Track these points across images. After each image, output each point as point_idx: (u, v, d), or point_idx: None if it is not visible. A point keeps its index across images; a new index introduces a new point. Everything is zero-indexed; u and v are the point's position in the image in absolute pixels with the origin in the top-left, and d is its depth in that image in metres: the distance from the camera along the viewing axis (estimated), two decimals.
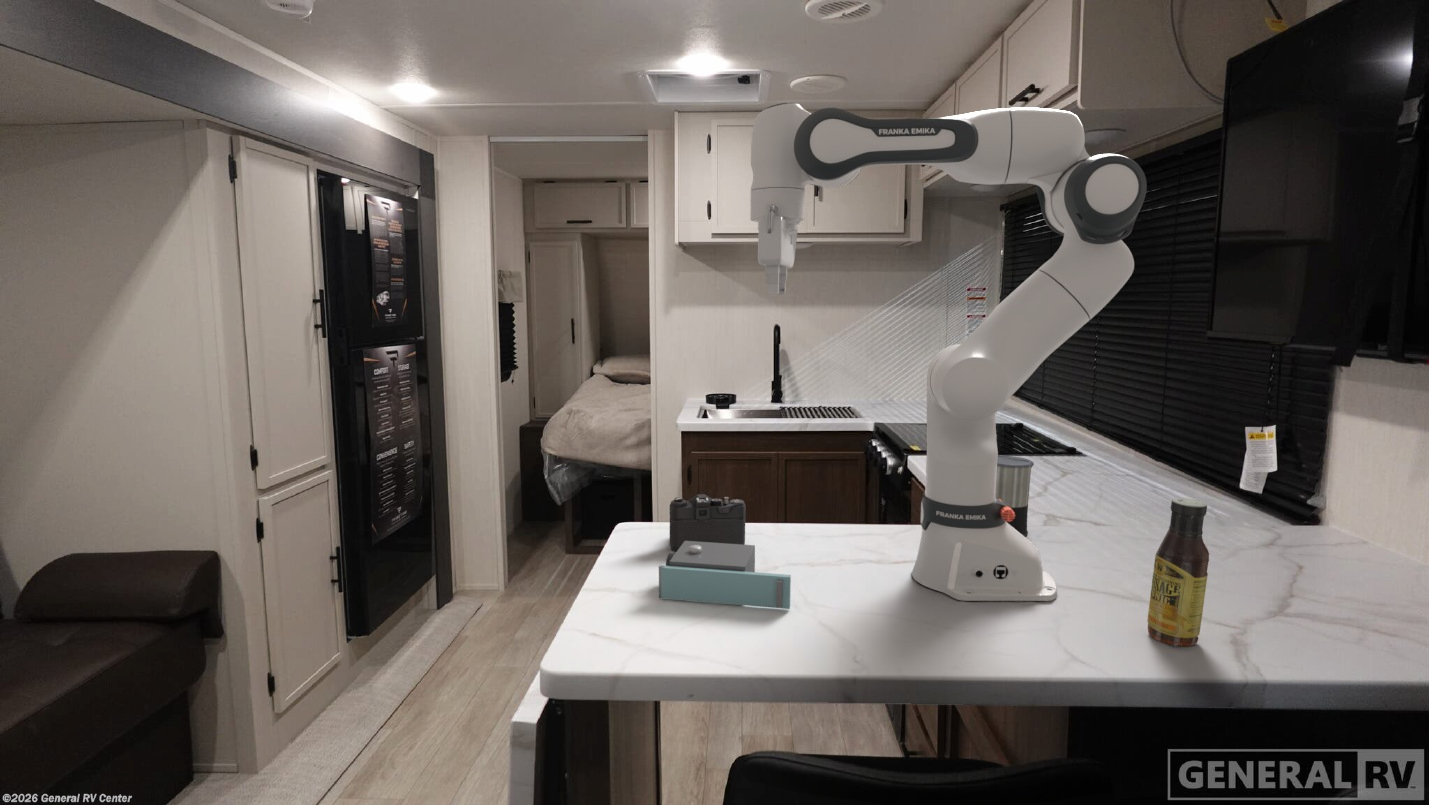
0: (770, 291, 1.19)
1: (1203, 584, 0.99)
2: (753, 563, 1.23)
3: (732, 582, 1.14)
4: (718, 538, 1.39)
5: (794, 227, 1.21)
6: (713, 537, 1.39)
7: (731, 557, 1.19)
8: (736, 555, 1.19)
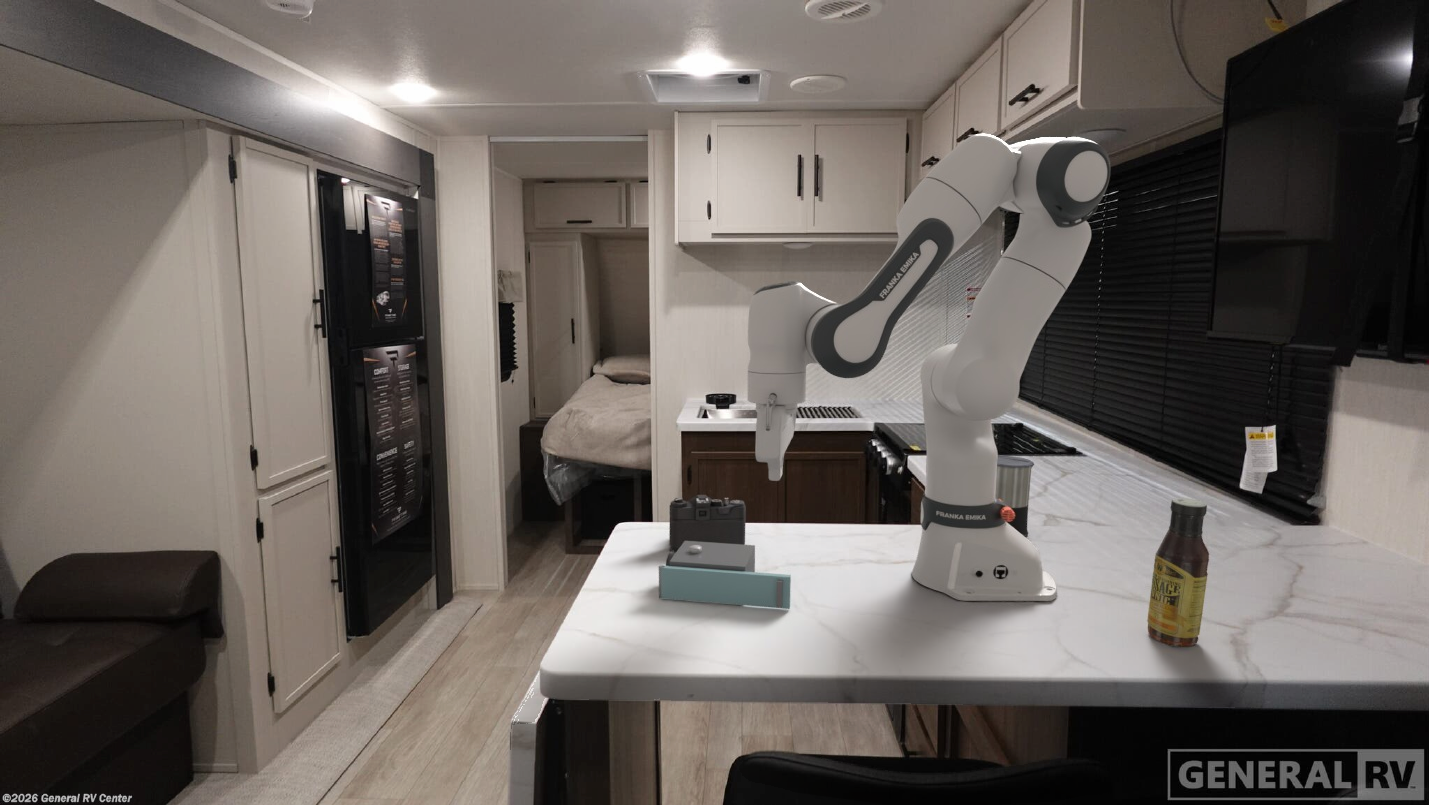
0: (772, 477, 1.14)
1: (1203, 584, 0.99)
2: (753, 563, 1.23)
3: (732, 582, 1.14)
4: (718, 539, 1.38)
5: (794, 411, 1.12)
6: (713, 538, 1.38)
7: (731, 557, 1.19)
8: (736, 555, 1.19)
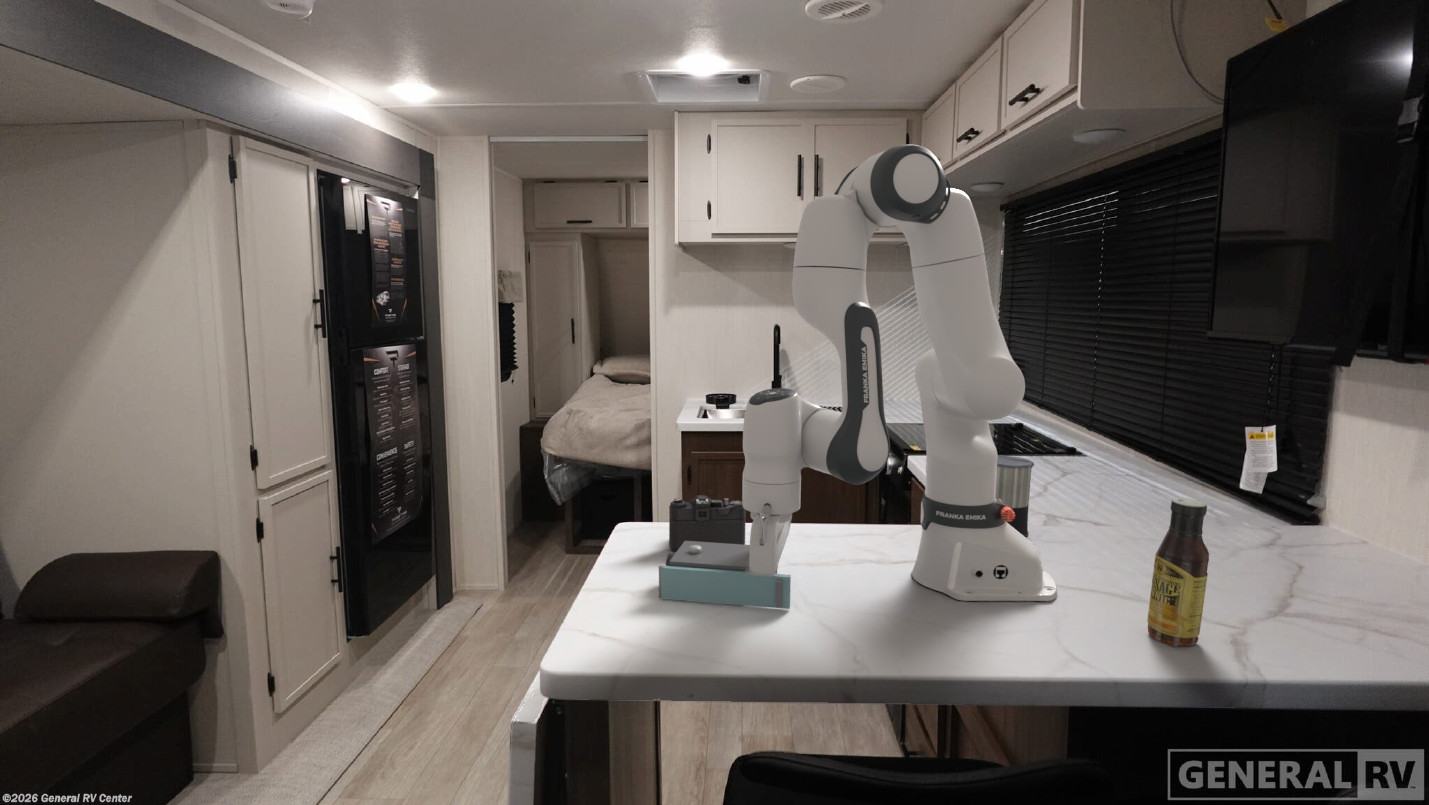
0: None
1: (1203, 584, 0.99)
2: None
3: (732, 582, 1.14)
4: (718, 540, 1.38)
5: (789, 518, 1.12)
6: (713, 539, 1.38)
7: (731, 557, 1.19)
8: (736, 555, 1.19)
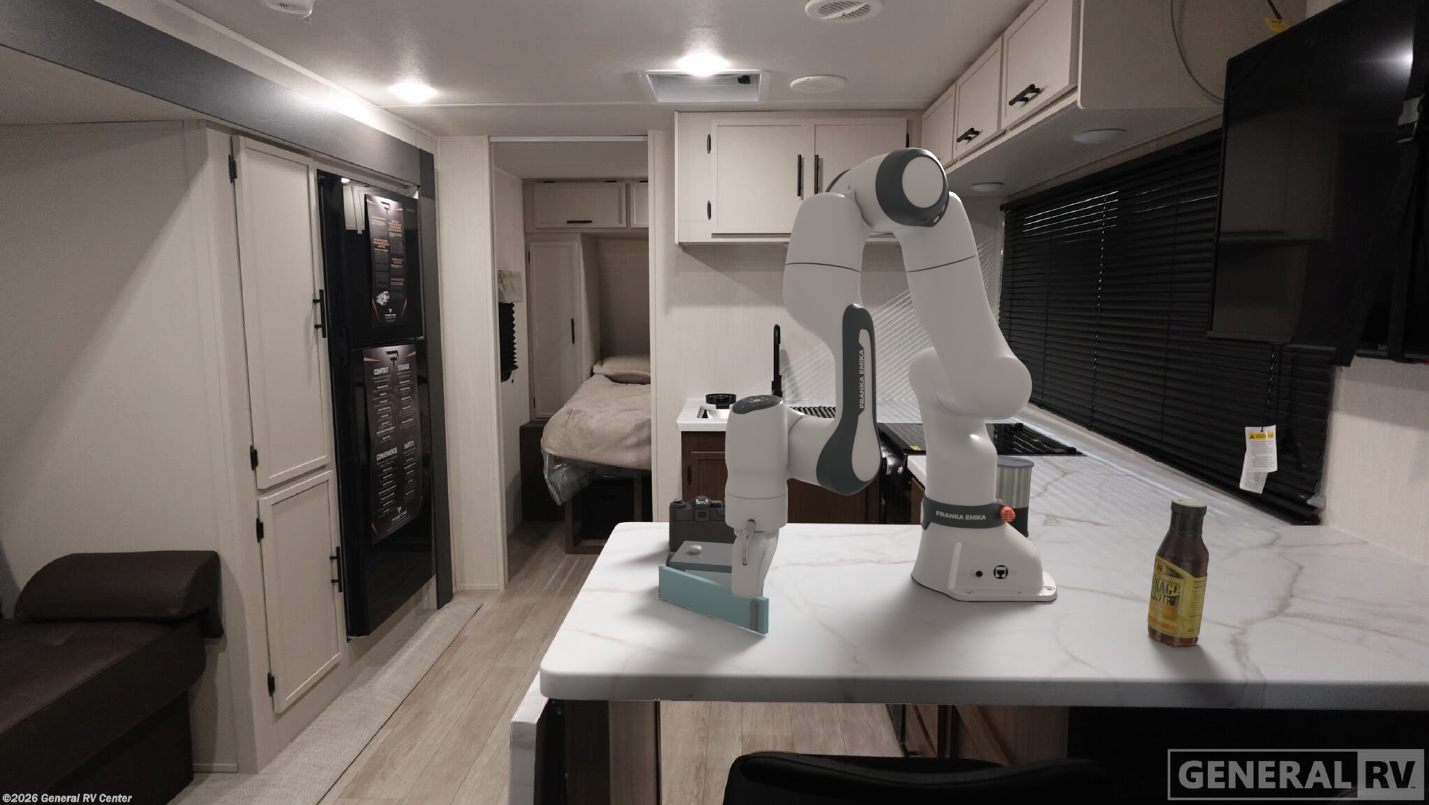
0: None
1: (1203, 584, 0.99)
2: None
3: (715, 595, 1.09)
4: (718, 540, 1.38)
5: (775, 534, 1.05)
6: (712, 539, 1.38)
7: (731, 557, 1.19)
8: None
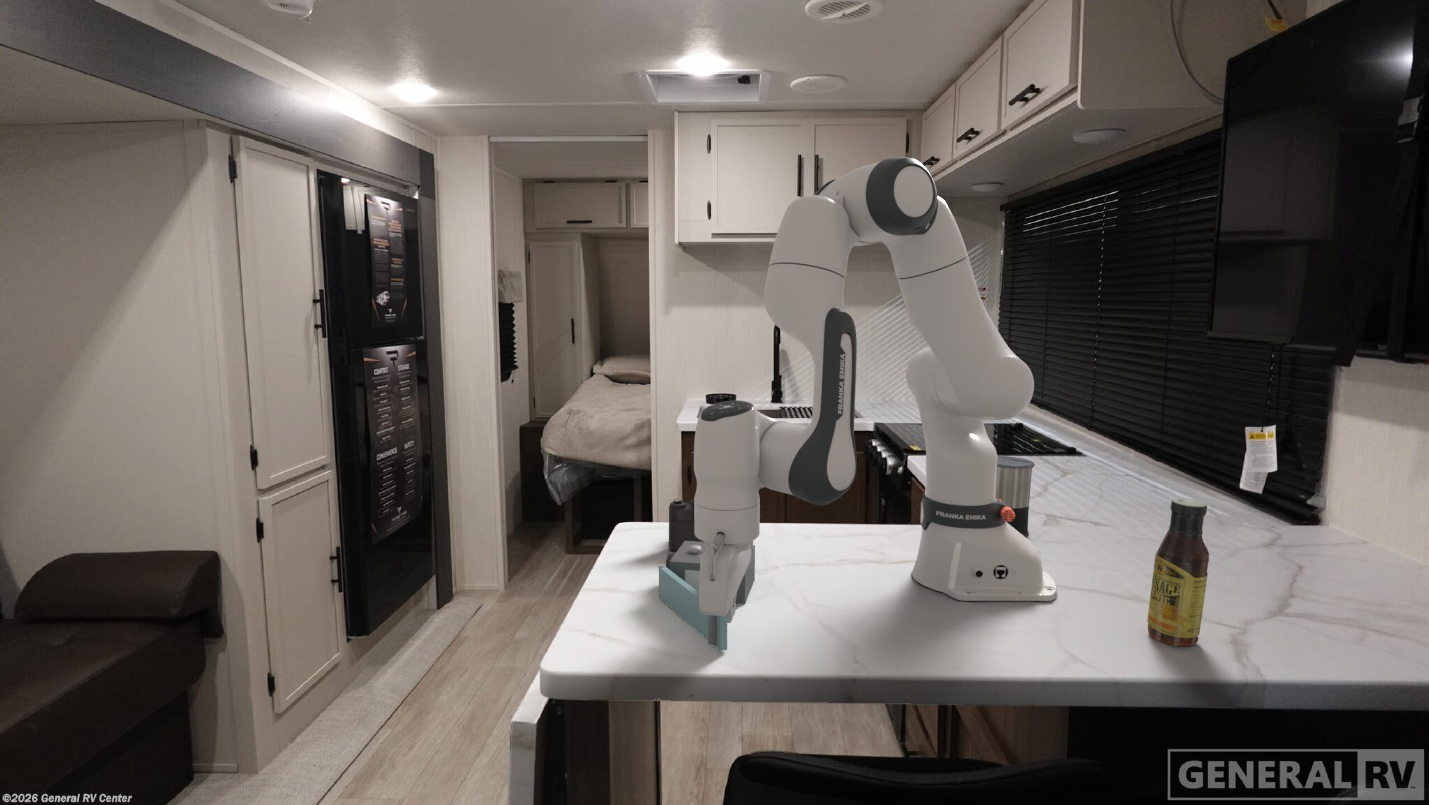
0: None
1: (1203, 584, 0.99)
2: (753, 563, 1.23)
3: (691, 602, 1.06)
4: None
5: (747, 547, 1.00)
6: None
7: None
8: None
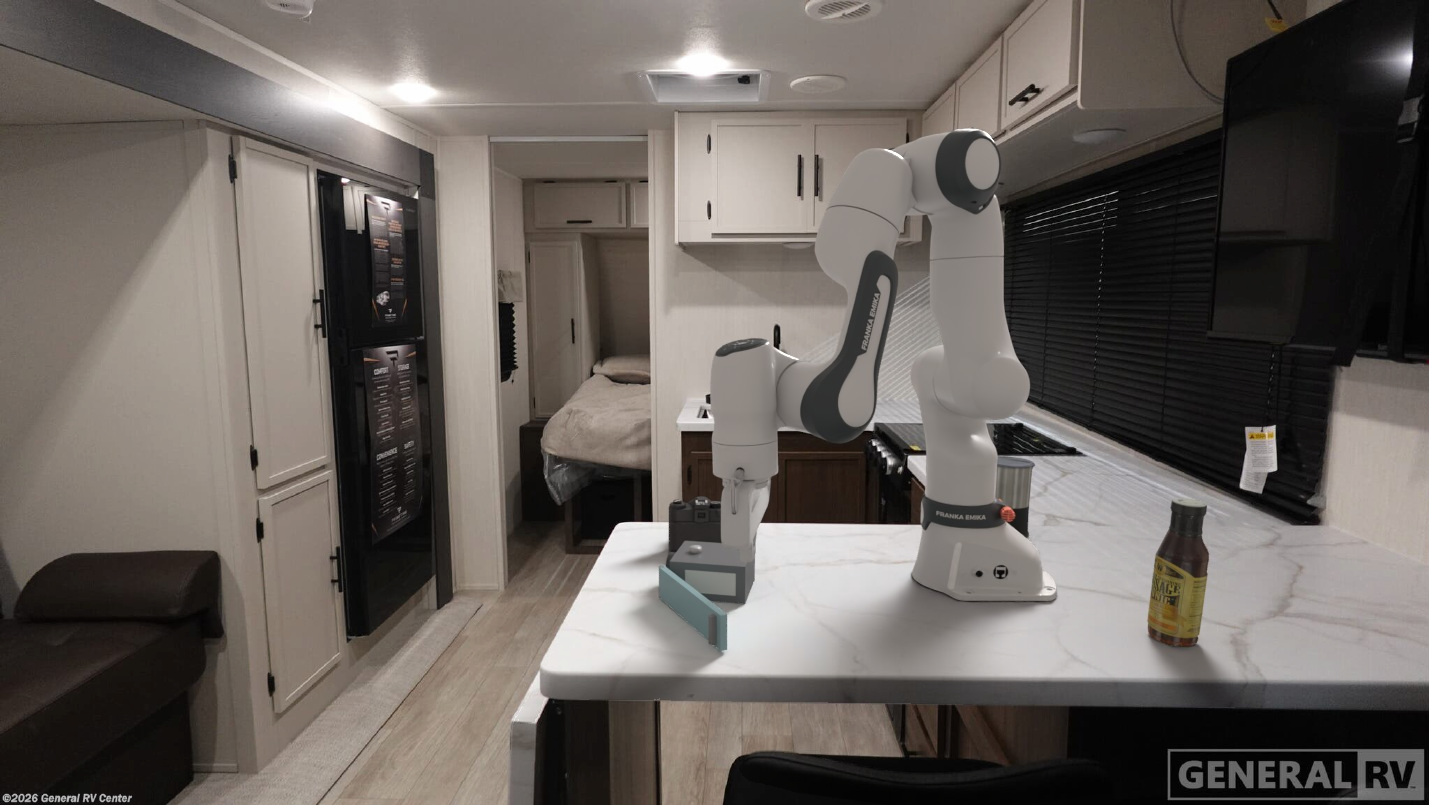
0: (743, 558, 1.01)
1: (1203, 584, 0.99)
2: (753, 563, 1.23)
3: (691, 602, 1.06)
4: (717, 541, 1.37)
5: (766, 484, 0.99)
6: (712, 540, 1.37)
7: (731, 557, 1.19)
8: (736, 555, 1.19)
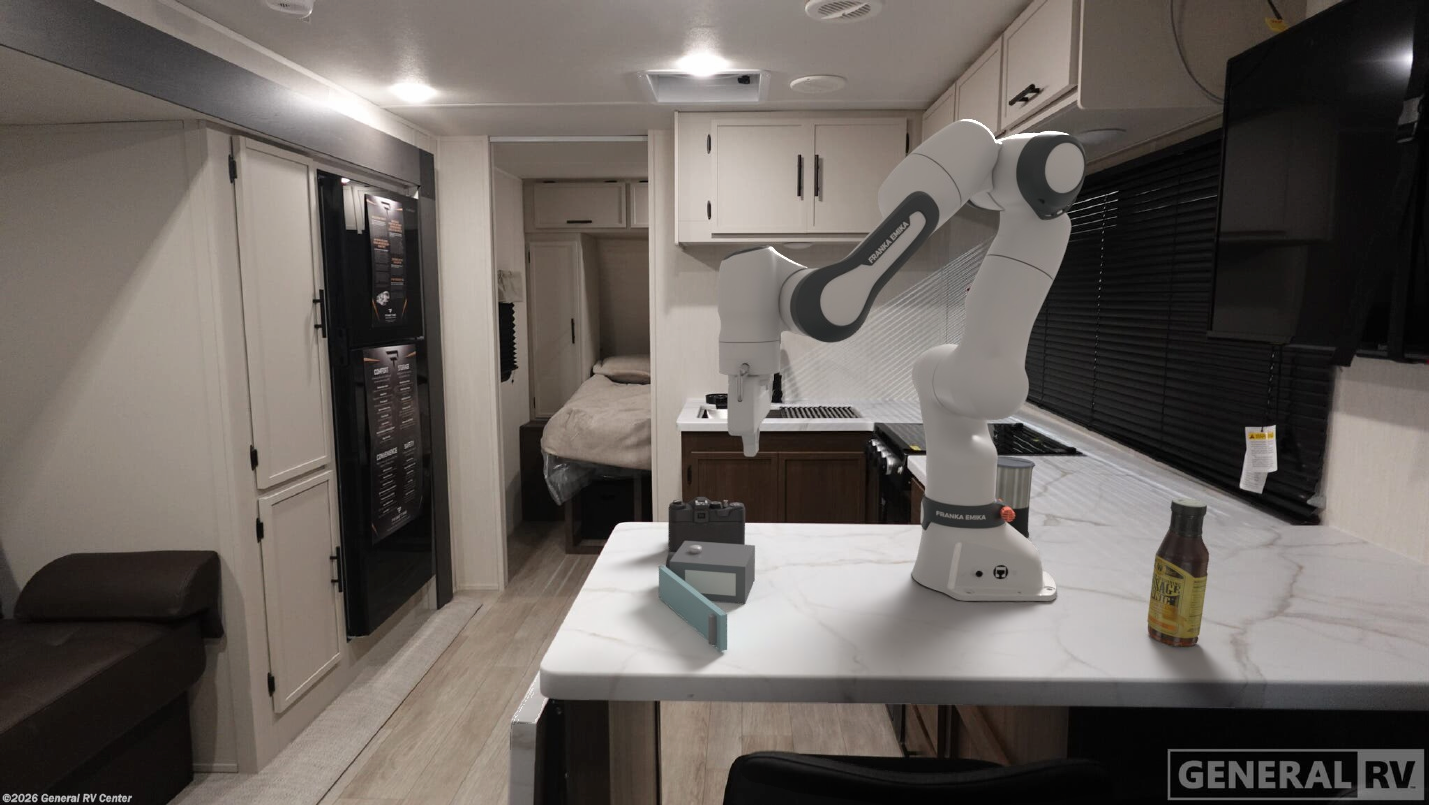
0: (747, 452, 1.08)
1: (1203, 584, 0.99)
2: (753, 563, 1.23)
3: (691, 602, 1.06)
4: (717, 541, 1.37)
5: (769, 382, 1.07)
6: (712, 541, 1.37)
7: (731, 557, 1.19)
8: (736, 555, 1.19)
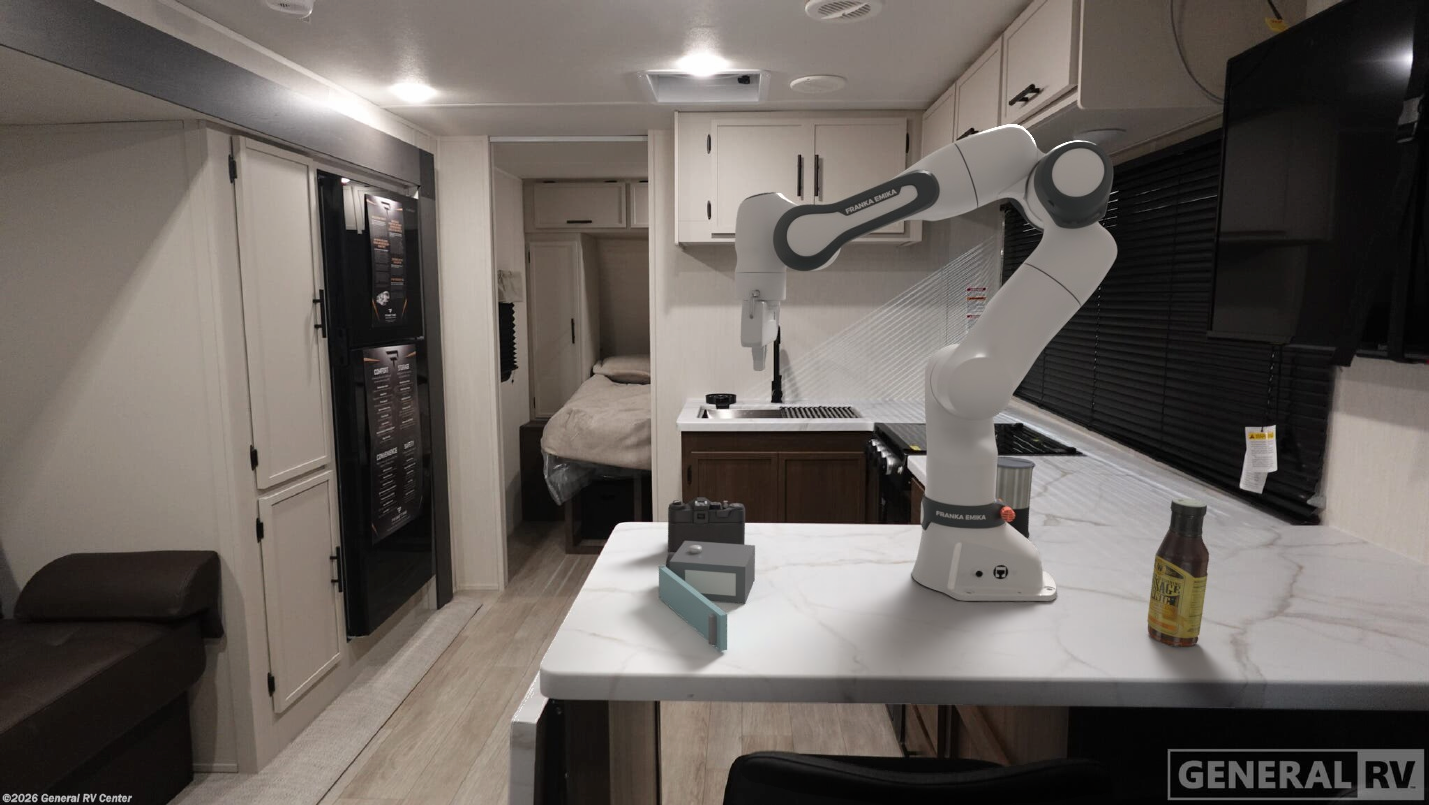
0: (756, 367, 1.29)
1: (1203, 584, 0.99)
2: (753, 563, 1.23)
3: (691, 602, 1.06)
4: (717, 542, 1.36)
5: (776, 308, 1.28)
6: (711, 541, 1.36)
7: (731, 557, 1.19)
8: (736, 555, 1.19)
